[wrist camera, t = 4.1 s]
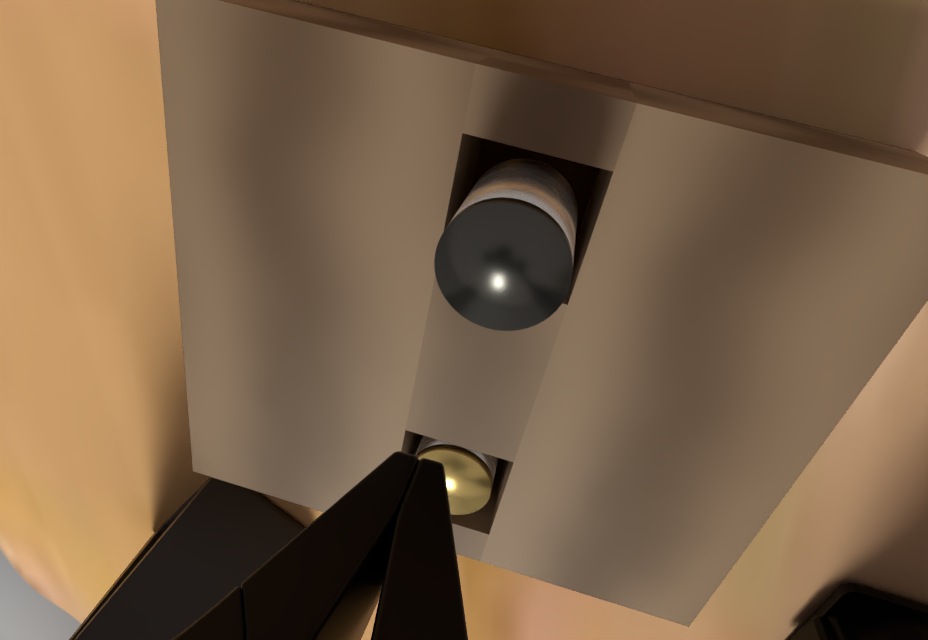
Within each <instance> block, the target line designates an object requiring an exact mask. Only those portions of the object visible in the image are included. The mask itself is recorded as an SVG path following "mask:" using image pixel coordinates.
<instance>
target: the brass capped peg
mask: <svg viewBox="0 0 928 640" xmlns="http://www.w3.org/2000/svg"><path fill="white" fill-rule="evenodd" d="M415 456H417V457H418V458H419V460H420V459H421V458H426V459H430V460H434V461H437V462H441V463H442V464H443V465H444V469H445V476H446V484H447V491H448V498H449V505H450V513H451V514H453V515H464V514H470V513H473V512H476V511H478V510H479V509H481V508H482V507H484V505H485V504H486V503H487V502H488V500H489V498H490V494H491V490H492V485H493V480H494V476H495V471H496V466H497V462H498V458H497V457H494V456H491V455H487V454H484V453H481V452H477V451H474V450H471V449H467V448H464V447H461V446H457V445H454V444H451V443H447V442H444V441H441V440H437V439H434V438H431V437H427V436H424V435H423V437H422V439H421V442H420V444H419V447H418V449H417V452H416V454H415Z"/></svg>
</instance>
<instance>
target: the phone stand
mask: <svg viewBox="0 0 928 640" xmlns="http://www.w3.org/2000/svg"><path fill="white" fill-rule="evenodd" d="M304 529H305V528H304V527H303V526H301V525H300V524H299V523H297V522H296V521H295V520H293V519H292V518H291V517H289V516H288V515H287V514H285V513H284V512H283V511H281V510H280V509H279V508H277V507H276V506H275V505H273V504H272V503H271V502H269V501H268V500H267V499H265V498H264V497H263V496H261V495H260V494H259V493H257V492H256V491H254V490H251V489H248V488H245V487H241V486H238V485H235V484H232V483H229V482H226V481H222V480H219V479H216V478H213V477H210V478H209V479H208V480H207V481H206V482H205V483H204V484H203V485H202V486H201V487H200V488H199V489H198V490H197V491H196V492H195V493H194V494H193V495H192V496H191V497H190V498H189V499H188V500H187V501H186V502H185V503H184V504H183V505H182V506H181V507H180V508H179V509H178V510H177V511H176V512H175V513H174V514H173V515H172V516H171V517H170V518H169V519H168V520H167V521H166V522H165V523H164V524H163V525H162V526H161V527H160V528H159V529H158V530H157V531H156V532H155V533H154V534H153V535H152V536H151V538H150V539H149V540H148V541H147V543H146V544H145V545H144V546H143V548H142V549H141V550H140V551H139V553H138V554H137V555H136V556H135V558H134V559H133V560H132V561H131V563H130V564H129V565H128V566H127V568H126V569H125V570H124V571H123V573H122V574H121V575H120V576H119V578H118V579H117V580H116V581H115V583H114V584H113V585H112V586H111V588H110V589H109V590H108V591H107V593H106V594H105V595H104V597H103V598H102V599H101V600H100V602H99V603H98V604H97V605H96V607H95V608H94V609H93V610H92V612H91V613H90V614H89V615H88V617H87V618H86V619H85V620H84V622H83V623H82V624H81V625H80V627H79V628H78V629H77V630H76V632H75V633H74V634H73V635H72V637H71V638H70V639H69V640H172V639H174V638H175V637H176V636H178V635H179V634H180V633H182V632H183V631H184V630H186V629H187V628H188V627H189V626H190V625H192V624H193V623H194V622H195V621H197V620H198V619H199V618H200V617H202V616H203V615H204V614H205V613H206V612H208V611H209V610H210V609H211V608H213V607H214V606H215V605H216V604H217V603H219V602H220V601H221V600H222V599H223V598H224V597H226V596H227V595H228V594H229V593H230V592H231V591H233V590H234V589H235V588H236V587H241V584H242V582H243V581H245V580H246V579H247V578H248V577H249V576H250V575H252V574H253V573H254V572H255V571H256V570H257V569H259V568H260V567H261V566H262V565H263V564H264V563H266V562H267V561H268V560H269V559H270V558H271V557H273V556H274V555H275V554H276V553H277V552H278V551H280V550H281V549H282V548H283V547H284V546H285V545H287V544H288V543H289V542H290V541H291V540H292V539H294V538H295V537H296V536H297V535H298V534H299V533H301V532H302V531H303V530H304Z"/></svg>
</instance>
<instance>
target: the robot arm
mask: <svg viewBox="0 0 928 640" xmlns="http://www.w3.org/2000/svg"><path fill="white" fill-rule="evenodd" d="M379 597H380V598H379ZM378 600H379V603H378V608H377V613H376V617H375V622H374V627H373V632H372V637H371V640H468V636H467V629H466V622H465V614H464V607H463V600H462V593H461V585H460V578H459V571H458V564H457V556H456V549H455V542H454V534H453V527H452V520H451V513H450V505H449V498H448V491H447V484H446V476H445V469H444V465H443V464H442V463H441V462H437V461H434V460H430V459H426V458H421V459H420V460H419V458H418V457H417V456H415V455H412V454H408V453H404V452H401V451H397V452H394V453H393V454H392V455H390V456H389V457H388V458H387V459H386V460H385V461H383V462H382V463H381V464H380V465H379V466H378V467H376V468H375V469H374V470H373V471H372V472H371V473H369V474H368V475H367V476H366V477H365V478H364V479H362V480H361V481H360V482H359V483H358V484H357V485H355V486H354V487H353V488H352V489H351V490H350V491H348V492H347V493H346V494H345V495H344V496H343V497H341V498H340V499H339V500H338V501H337V502H336V503H334V504H333V505H332V506H331V507H330V508H329V509H327V510H326V511H325V512H324V513H323V514H322V515H320V516H319V517H318V518H317V519H316V520H315V521H313V522H312V523H311V524H310V525H309V526H308V527H306V528H305V529H304V530H303V531H302V532H301V533H299V534H298V535H297V536H296V537H295V538H294V539H292V540H291V541H290V542H289V543H288V544H287V545H285V546H284V547H283V548H282V549H281V550H280V551H278V552H277V553H276V554H275V555H274V556H273V557H271V558H270V559H269V560H268V561H267V562H266V563H264V564H263V565H262V566H261V567H260V568H259V569H257V570H256V571H255V572H254V573H253V574H252V575H250V576H249V577H248V578H247V579H246V580H245V581H243V582H242V584H241V587H236V588H235V589H234V590H233V591H231V592H230V593H229V594H228V595H227V596H226V597H224V598H223V599H222V600H221V601H220V602H219V603H217V604H216V605H215V606H214V607H213V608H211V609H210V610H209V611H208V612H206V613H205V614H204V615H203V616H202V617H200V618H199V619H198V620H197V621H195V622H194V623H193V624H192V625H190V626H189V627H188V628H187V629H186V630H184V631H183V632H182V633H180V634H179V635H178V636H176V637H175V638H174V639H172V640H361V638H362V636H363V634H364V631H365V629H366V627H367V625H368V622H369V620H370V618H371V616H372V613H373V611H374V609H375V607H376V604H377V602H378ZM790 640H928V605H924V604H921V603H918V602H914V601H911V600H908V599H904V598H901V597H898V596H894V595H891V594H888V593H885V592H881V591H878V590H875V589H871V588H868V587H865V586H861V585H858V584H853V583H848V584H843V585H841V586H840V587H838V588H837V589H836V590H835V591H834V592H833V594H832V595H831V596H830V597H829V598H828V599H827V600H826V601H825V602H824V603H823V604H822V606H821V607H820V608H819V609H818V610H817V611H816V612H815V613H814V614H813V615H812V616H811V617H810V619H809V620H808V621H807V622H806V623H805V624H804V625H803V626H802V627H801V628H800V629H799V631H798V632H797V633H796V634H795V635H794V636H793V637H792V638H791V639H790Z"/></svg>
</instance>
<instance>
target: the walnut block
mask: <svg viewBox="0 0 928 640" xmlns="http://www.w3.org/2000/svg"><path fill="white" fill-rule="evenodd" d="M156 13H157V25H158V38H159V50H160V63H161V75H162V88H163V101H164V113H165V126H166V138H167V151H168V164H169V176H170V189H171V201H172V214H173V227H174V239H175V252H176V264H177V277H178V289H179V302H180V315H181V327H182V340H183V352H184V365H185V378H186V390H187V403H188V415H189V428H190V441H191V453H192V466H193V471H194V472H197V473H200V474H203V475H206V476H210V477H213V478H216V479H219V480H222V481H226V482H229V483H232V484H235V485H238V486H241V487H245V488H248V489H251V490H254V491H257V492H261V493H264V494H267V495H270V496H273V497H277V498H280V499H283V500H286V501H289V502H293V503H296V504H299V505H302V506H305V507H308V508H312V509H315V510H318V511H321V512H325V511H326V510H327V509H329V508H330V507H331V506H332V505H333V504H334V503H336V502H337V501H338V500H339V499H340V498H341V497H343V496H344V495H345V494H346V493H347V492H348V491H350V490H351V489H352V488H353V487H354V486H355V485H357V484H358V483H359V482H360V481H361V480H362V479H364V478H365V477H366V476H367V475H368V474H369V473H371V472H372V471H373V470H374V469H375V468H376V467H378V466H379V465H380V464H381V463H382V462H383V461H385V460H386V459H387V458H388V457H389V456H390V455H392V454H393V453H394V452H397V451H401V452H404V453H408V454H412V455H415V454H416V452H417V449H418V447H419V444H420V442H421V439H422V437H423V435H424V436H427V437H431V438H434V439H437V440H441V441H444V442H447V443H451V444H454V445H457V446H461V447H464V448H467V449H471V450H474V451H477V452H481V453H484V454H487V455H491V456H494V457H497V458H498V462H497V466H496V471H495V476H494V480H493V485H492V490H491V494H490V498H489V500H488V502H487V503H486V504H485V505H484V507H482V508H481V509H479V510H478V511H476V512H473V513H470V514H464V515H453V514H451V520H452V527H453V534H454V542H455V549H456V554H458V555H462V556H465V557H468V558H471V559H474V560H478V561H481V562H484V563H487V564H490V565H493V566H497V567H500V568H503V569H506V570H509V571H513V572H516V573H519V574H522V575H525V576H529V577H532V578H535V579H538V580H541V581H545V582H548V583H551V584H554V585H557V586H560V587H564V588H567V589H570V590H573V591H576V592H580V593H583V594H586V595H589V596H592V597H596V598H599V599H602V600H605V601H608V602H612V603H615V604H618V605H621V606H624V607H627V608H631V609H634V610H637V611H640V612H643V613H647V614H650V615H653V616H656V617H659V618H663V619H666V620H669V621H672V622H675V623H678V624H682V625H685V626H688V627H689V626H690V625H691V623H692V622H693V621H694V619H695V618H696V617H697V615H698V614H699V613H700V611H701V610H702V608H703V607H704V606H705V604H706V603H707V602H708V600H709V599H710V597H711V596H712V595H713V593H714V592H715V591H716V589H717V588H718V587H719V585H720V584H721V582H722V581H723V580H724V578H725V577H726V576H727V574H728V573H729V571H730V570H731V569H732V567H733V566H734V565H735V563H736V562H737V561H738V559H739V558H740V556H741V555H742V554H743V552H744V551H745V550H746V548H747V547H748V545H749V544H750V543H751V541H752V540H753V539H754V537H755V536H756V535H757V533H758V532H759V530H760V529H761V528H762V526H763V525H764V524H765V522H766V521H767V519H768V518H769V517H770V515H771V514H772V513H773V511H774V510H775V509H776V507H777V506H778V504H779V503H780V502H781V500H782V499H783V498H784V496H785V495H786V493H787V492H788V491H789V489H790V488H791V487H792V485H793V484H794V483H795V481H796V480H797V478H798V477H799V476H800V474H801V473H802V472H803V470H804V469H805V467H806V466H807V465H808V463H809V462H810V461H811V459H812V458H813V457H814V455H815V454H816V452H817V451H818V450H819V448H820V447H821V446H822V444H823V443H824V441H825V440H826V439H827V437H828V436H829V435H830V433H831V432H832V431H833V429H834V428H835V426H836V425H837V424H838V422H839V421H840V420H841V418H842V417H843V415H844V414H845V413H846V411H847V410H848V409H849V407H850V406H851V405H852V403H853V402H854V400H855V399H856V398H857V396H858V395H859V394H860V392H861V391H862V389H863V388H864V387H865V385H866V384H867V383H868V381H869V380H870V379H871V377H872V376H873V374H874V373H875V372H876V370H877V369H878V368H879V366H880V365H881V363H882V362H883V361H884V359H885V358H886V357H887V355H888V354H889V353H890V351H891V350H892V348H893V347H894V346H895V344H896V343H897V342H898V340H899V339H900V337H901V336H902V335H903V333H904V332H905V331H906V329H907V328H908V327H909V325H910V324H911V322H912V321H913V320H914V318H915V317H916V316H917V314H918V313H919V311H920V310H921V309H922V307H923V306H924V305H925V303H926V302H927V301H928V157H926V156H924V155H922V154H920V153H917V152H915V151H911V150H907V149H903V148H898V147H894V146H890V145H886V144H882V143H878V142H874V141H870V140H866V139H861V138H857V137H853V136H849V135H845V134H841V133H837V132H833V131H829V130H824V129H820V128H816V127H812V126H808V125H804V124H800V123H796V122H792V121H788V120H783V119H779V118H775V117H771V116H767V115H763V114H759V113H755V112H751V111H746V110H742V109H738V108H734V107H730V106H726V105H722V104H718V103H714V102H709V101H705V100H701V99H697V98H693V97H689V96H685V95H681V94H677V93H673V92H668V91H664V90H660V89H656V88H652V87H648V86H644V85H640V84H636V83H631V82H627V81H623V80H619V79H615V78H611V77H607V76H603V75H599V74H594V73H590V72H586V71H582V70H578V69H574V68H570V67H566V66H562V65H557V64H553V63H549V62H545V61H541V60H537V59H533V58H529V57H525V56H521V55H516V54H512V53H508V52H504V51H500V50H496V49H492V48H488V47H484V46H479V45H475V44H471V43H467V42H463V41H459V40H455V39H451V38H447V37H442V36H438V35H434V34H430V33H426V32H422V31H418V30H414V29H410V28H405V27H401V26H397V25H393V24H389V23H385V22H381V21H377V20H373V19H369V18H364V17H360V16H356V15H352V14H348V13H344V12H340V11H336V10H332V9H327V8H323V7H319V6H315V5H311V4H307V3H303V2H299V1H295V0H156ZM482 138H484V139H488V140H492V141H496V142H499V143H503V144H507V145H511V146H515V147H519V148H523V149H527V150H531V151H535V152H539V153H542V154H546V155H550V156H554V157H558V158H562V159H566V160H570V161H574V162H578V163H582V164H585V165H589V166H593V167H597V168H600V170H599V173H598V176H597V179H596V182H595V185H594V188H593V191H592V194H591V197H590V200H589V203H588V206H587V209H586V212H585V216H584V219H583V222H582V225H581V228H580V231H579V234H578V237H577V240H576V243H575V249H574V260H573V271H572V281H571V285H570V289H569V291H568V294H567V296H566V298H565V300H564V301H563V303H562V304H561V306H560V307H559V308H558V309H557V311H556V312H554V313H553V314H552V315H551V316H550V317H549V318H547V319H546V320H544V321H543V322H541V323H539V324H537V325H535V326H532V327H529V328H526V329H522V330H515V331H500V330H493V329H488V328H485V327H482V326H479V325H477V324H475V323H472V322H470V321H469V320H467V319H466V318H464V317H463V316H461V315H460V314H459V313H458V312H456V311H455V310H454V309H453V308H452V307H451V305H450V304H449V303H448V302H447V300H446V299H445V297H444V296H443V294H442V292H441V290H440V288H439V286H438V283H437V279H436V275H435V269H434V259H435V252H436V248H437V244H438V242H439V240H440V237H441V236H442V234H443V232H444V231H445V229H446V228H447V226H448V224H449V223H450V221H451V220H452V218H453V217H454V215H455V214H456V212H457V211H458V209H459V208H460V206H461V205H462V203H463V202H464V200H465V199H466V197H467V196H468V194H469V193H470V191H471V190H472V185H473V180H474V175H475V171H476V166H477V161H478V157H479V152H480V147H481V142H482Z"/></svg>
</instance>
